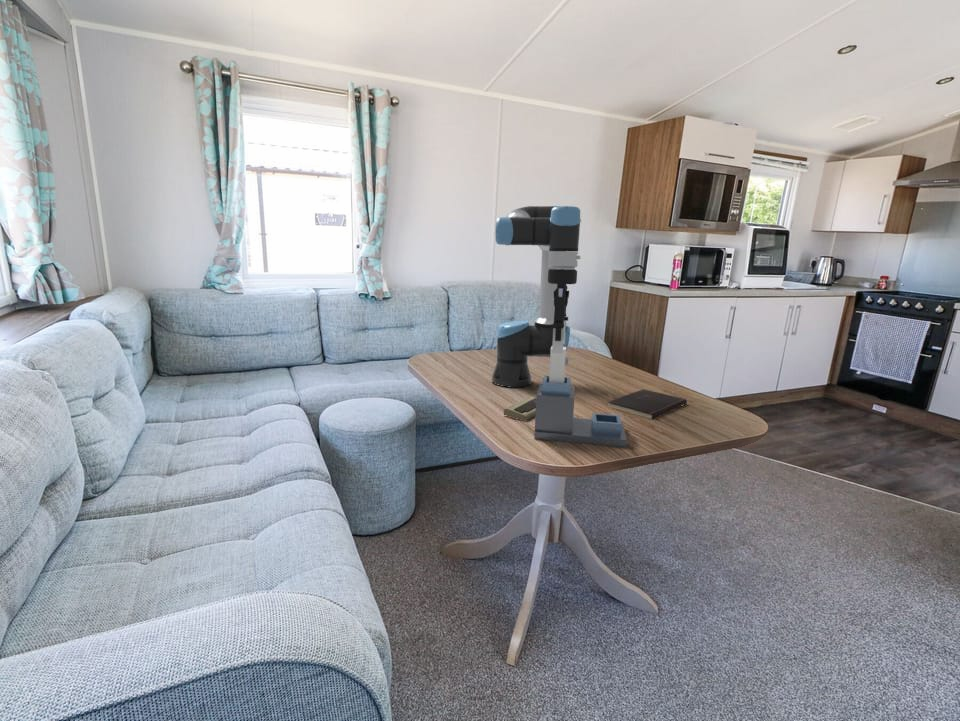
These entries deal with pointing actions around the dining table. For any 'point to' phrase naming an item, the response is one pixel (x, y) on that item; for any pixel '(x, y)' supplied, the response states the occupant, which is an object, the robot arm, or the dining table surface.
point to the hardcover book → (647, 403)
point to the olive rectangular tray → (522, 409)
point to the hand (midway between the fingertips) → (558, 348)
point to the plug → (558, 366)
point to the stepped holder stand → (559, 421)
